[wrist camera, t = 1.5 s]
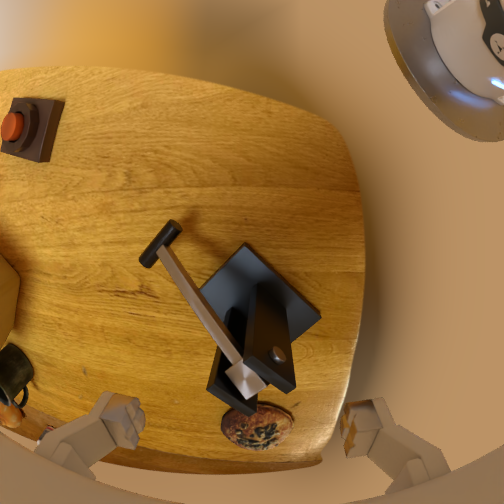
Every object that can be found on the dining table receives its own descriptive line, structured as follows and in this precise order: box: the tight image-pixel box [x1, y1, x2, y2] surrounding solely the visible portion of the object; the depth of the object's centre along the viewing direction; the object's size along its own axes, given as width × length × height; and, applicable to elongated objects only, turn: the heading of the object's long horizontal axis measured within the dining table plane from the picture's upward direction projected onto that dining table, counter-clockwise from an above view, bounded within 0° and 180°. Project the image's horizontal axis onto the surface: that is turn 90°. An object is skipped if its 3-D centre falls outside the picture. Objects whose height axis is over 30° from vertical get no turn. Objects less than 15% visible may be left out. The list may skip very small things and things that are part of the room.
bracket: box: [199, 243, 322, 417], centre depth 25 cm, size 12×9×14 cm
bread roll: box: [221, 404, 294, 451], centre depth 36 cm, size 11×11×5 cm
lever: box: [139, 219, 270, 400], centre depth 23 cm, size 16×5×2 cm
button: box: [1, 113, 24, 141], centre depth 22 cm, size 4×4×2 cm
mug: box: [0, 344, 33, 408], centre depth 34 cm, size 9×12×10 cm
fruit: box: [0, 402, 22, 428], centre depth 42 cm, size 8×8×8 cm
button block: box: [0, 98, 64, 163], centre depth 25 cm, size 10×8×4 cm
